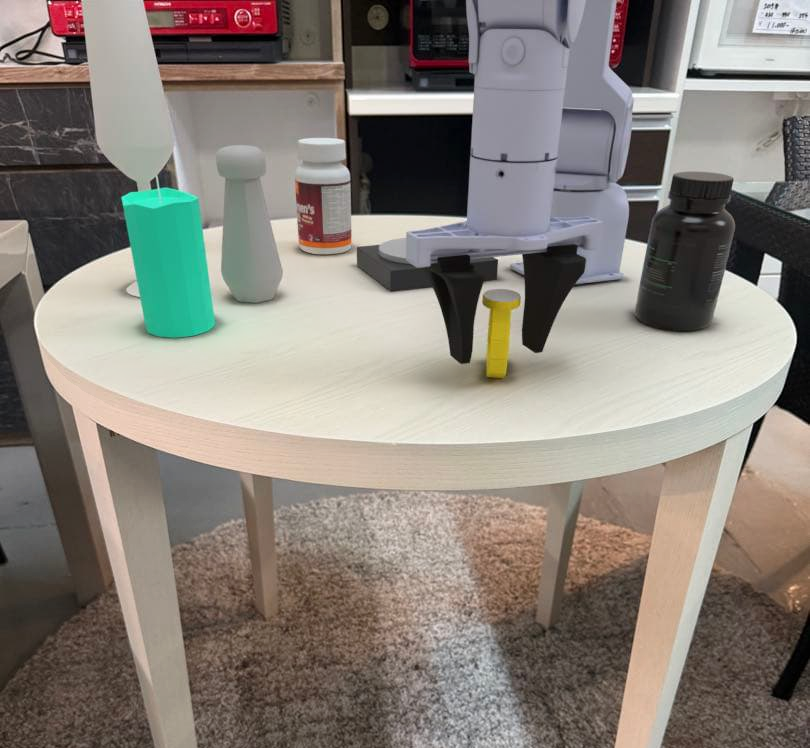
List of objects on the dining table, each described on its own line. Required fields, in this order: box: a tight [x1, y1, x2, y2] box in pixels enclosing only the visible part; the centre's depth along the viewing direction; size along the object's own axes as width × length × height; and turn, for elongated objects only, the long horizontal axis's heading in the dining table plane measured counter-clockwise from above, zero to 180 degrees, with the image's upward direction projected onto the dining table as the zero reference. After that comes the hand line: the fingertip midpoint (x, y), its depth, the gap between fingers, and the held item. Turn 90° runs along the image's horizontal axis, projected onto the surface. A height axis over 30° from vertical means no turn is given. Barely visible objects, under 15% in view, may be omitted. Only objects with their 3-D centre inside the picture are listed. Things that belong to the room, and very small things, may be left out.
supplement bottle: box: [634, 171, 736, 332], centre depth 66 cm, size 7×7×12 cm
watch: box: [481, 288, 522, 379], centre depth 57 cm, size 6×3×6 cm, turn 175°
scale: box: [356, 237, 499, 292], centre depth 80 cm, size 12×10×3 cm
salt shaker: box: [215, 144, 284, 304], centre depth 70 cm, size 6×6×13 cm
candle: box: [121, 175, 216, 339], centre depth 63 cm, size 6×6×12 cm
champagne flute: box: [80, 0, 176, 298], centre depth 68 cm, size 7×7×24 cm
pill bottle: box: [294, 137, 353, 255], centre depth 85 cm, size 6×6×11 cm
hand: (496, 353), depth 58 cm, fingers open, 6 cm apart
